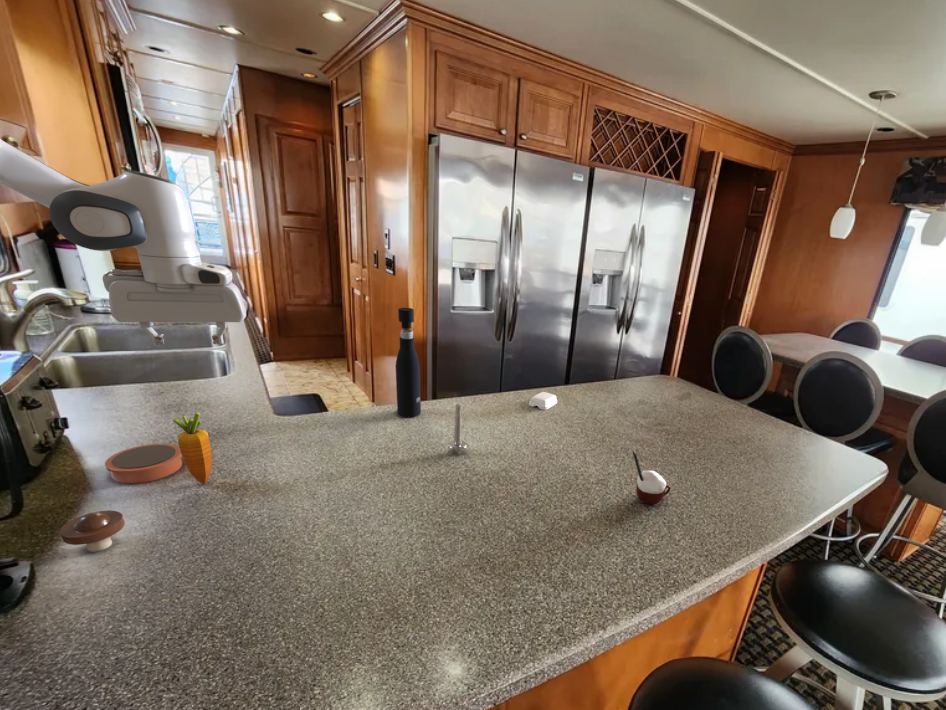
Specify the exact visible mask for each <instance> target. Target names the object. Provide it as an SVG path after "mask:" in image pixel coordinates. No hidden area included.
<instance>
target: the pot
mask: <svg viewBox="0 0 946 710" xmlns="http://www.w3.org/2000/svg"><path fill="white" fill-rule="evenodd" d="M104 466H105V469H106V470H107V471H109V473H110V477H111V479H112V481H114V482H117V483H121V484H141V483H142V484H143V483H149V482H153V481H156V480H159V479H162V478H165V477H168V476H171V475H173V474H174V473H176V472H177V471H179V470H180V469H181V468H182V466H183V458H182V454H181V450H180V447H179V445H176V444H171V443H150V444H149V443H148V444H143V445H137V446H133V447H129V448H126V449H124V450H120V451H119V452H117V453H114V454H113V455H111V456H109V457H108V458H107V459H106V460H105V462H104Z"/></svg>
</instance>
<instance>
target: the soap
mask: <svg viewBox="0 0 946 710" xmlns="http://www.w3.org/2000/svg"><path fill="white" fill-rule="evenodd" d="M557 403H558V399H557V395H555V394H553V393H550V392H546V391H541V392H539V393H537V394H535V395H533V396H531V397H530V401H529V402H528V406H529V407H534V408H535V407H536V406H537V408H538V409H540V410H548V409H550V408H552V407H553V406H555V405H556V404H557Z"/></svg>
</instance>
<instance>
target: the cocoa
mask: <svg viewBox="0 0 946 710" xmlns="http://www.w3.org/2000/svg"><path fill="white" fill-rule="evenodd" d="M632 456H633V459H634V463H635V467H636V470H637V474H638V475H637V478H636V489H635V490H636V495H637V497H638V499H639V501H641V502H642V503H644V504H645V505H656V504H659V503H660V502H661V501H662V500H663V498H664V497H665V496H666V495H668V494H669V493H670V491H671V486H670V485H668V484H667V482H666V480H665V479H664V478H663V476H662V475H660V474H659V473H658V472H657V471H654V470H641V469H642V468H641V465H640V462H639V458H638V455H637V452H636V451H635V450H632ZM666 489H667V490H666Z"/></svg>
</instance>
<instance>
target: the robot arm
mask: <svg viewBox="0 0 946 710" xmlns="http://www.w3.org/2000/svg"><path fill="white" fill-rule="evenodd" d="M0 184H1V185H3V186H5V187H6V188H9V189H11V190H12V191H15V192H17V193H19V194H21V195H22V196H24V197H27V198H28V199H30V200H32V201H34V202H36V203H38V204H40V205H42V206H43V207H46V208H48V209H49V210H48V213H49V218H50V221H51V224H52V226H53V227H54V228H55V229H56V231H57V232H58V233H59V234H60V235H61V237H63V238H64V239H66V240H67V241H69V242H70V243H72V244H74V245H76V246H78V247H81V248H84V249H87V250H92V251H96V252H97V251H98V252H109V251H115V250H118V249H125V248H134V249H135V250H136V252H137V256H138V260H139V264H140V268H141V269H119V268H113V269H110V271H107V272H105V273H104V274H103V275H102V283H103V287H104V289H105V291H106V292H107V293H108V301H109V302H108V303H109V309H110V314H111V316H112V318H113V319H114V320H116V321H117V322H119V323H139V326H140V329H141V330H142V331H143V332H144V333H146V334H147V335H148V336H149V337H150V338H151V342H152V343H151V344H152V345H153V346H164V345H166V339H165V336H164V334H158V332H157V331H155V330H154V328H153V326H154V323H215V324H216V327H217V328H219V330H218V332H217V333H214V334H212V336H211V339H212V344H213V345H224V343H225V342H224V336H223V335H224V334H225V331H226V329H227V327H228V323H242V322H243V321H244V320H245V319H246V318H247V310H246V305H245V301H244V298H243V296H242V293H241V291H240V288H239V287H238V286H237V285H236V284H235V283H233V282H232V281H233V278H234V277H233V273H232V271H231V270H230V269H228V268H224V267H222V266H218V265H214V264H211V263H208V262H204V261H202V258H201V254H200V251H199V250H198V247H197V245H196V242H195V241H196V240H195V237H196V228H195V225H194V224H195V223H194V219H193V215H192V210H191V207H190V203H189V201H188V198H187V196H186V193H185V192H184V190H183V189H182V188H181V187H180V186H179V185H178V184H176V183H175V182H174V181H172V180H170V179H167V178H164V177H160V176H158V175H153V174H150V173H145V172H141V171H136V170H125V171H123V172H122V173H121V174H120V175H118V176H116V177H113V178H111V179H108V180H105V181H102V182H99V183H95V184H91V185H90V184H86V183H82V182H80V181H77V180H76V179H73V178H71V177H69V176H67V175H65V174H63V173H61V172H59V171H58V170H56V169H55V168H53V167H51V166H49V165H47V164H46V163H43V162H42V161H40V160H38V159H36V158H35V157H33V156H31V155H30V154H28V153H26V152H24V151H23V150H21V149H19V148H17V147H15V146H14V145H12V144H10V143H9V142H6V141H5V140H3V139H1V138H0Z"/></svg>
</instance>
